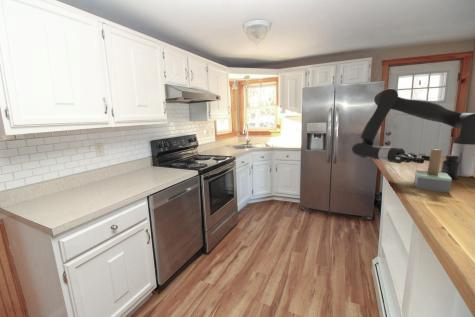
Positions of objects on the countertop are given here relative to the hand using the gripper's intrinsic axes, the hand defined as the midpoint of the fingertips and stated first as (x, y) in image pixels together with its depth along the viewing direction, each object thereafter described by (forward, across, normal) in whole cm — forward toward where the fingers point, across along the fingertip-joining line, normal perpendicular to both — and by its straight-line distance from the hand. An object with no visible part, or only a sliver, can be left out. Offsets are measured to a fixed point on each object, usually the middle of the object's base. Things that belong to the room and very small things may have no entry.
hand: (428, 160), depth 103 cm
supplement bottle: (-2, +28, +13) cm, 31 cm away
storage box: (+2, 0, +13) cm, 13 cm away
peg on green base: (+2, 0, +8) cm, 8 cm away
